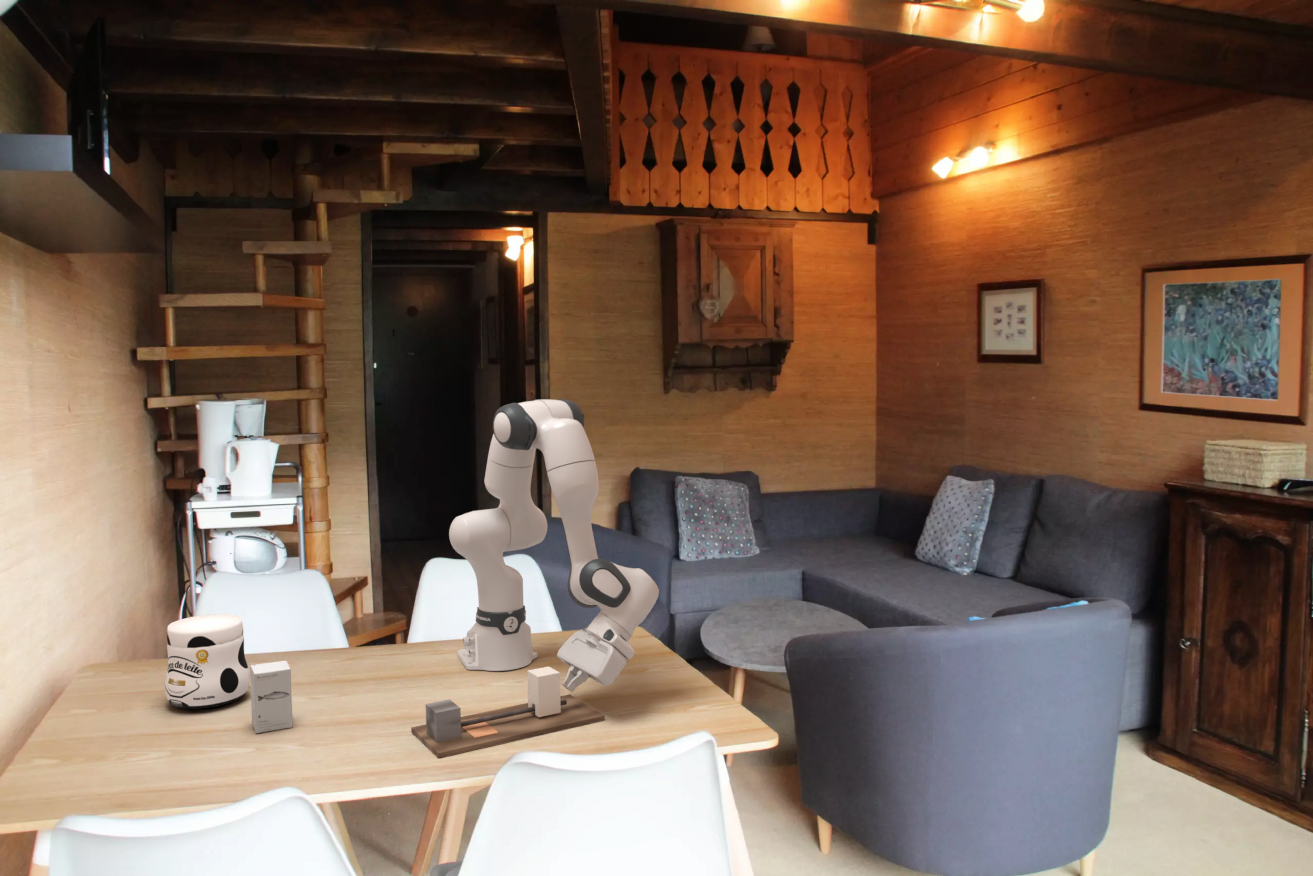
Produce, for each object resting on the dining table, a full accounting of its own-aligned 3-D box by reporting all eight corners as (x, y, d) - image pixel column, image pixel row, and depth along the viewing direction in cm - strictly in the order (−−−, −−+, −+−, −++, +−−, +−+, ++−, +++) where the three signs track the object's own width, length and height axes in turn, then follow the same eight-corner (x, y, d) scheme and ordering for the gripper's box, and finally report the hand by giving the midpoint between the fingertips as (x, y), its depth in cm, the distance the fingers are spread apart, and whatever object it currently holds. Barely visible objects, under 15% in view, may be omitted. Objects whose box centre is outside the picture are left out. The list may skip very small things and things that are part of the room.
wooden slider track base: (411, 732, 200) (410, 698, 200) (569, 698, 219) (569, 667, 219) (438, 758, 187) (437, 722, 186) (604, 720, 206) (604, 687, 205)
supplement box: (255, 734, 200) (252, 673, 199) (251, 723, 207) (249, 664, 206) (293, 728, 203) (291, 668, 202) (289, 717, 210) (286, 659, 209)
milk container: (155, 718, 210) (151, 635, 209) (177, 692, 227) (173, 615, 226) (242, 711, 214) (238, 630, 213) (257, 686, 231) (253, 610, 229)
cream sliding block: (528, 710, 208) (527, 670, 207) (549, 705, 210) (548, 666, 210) (538, 717, 203) (538, 677, 203) (560, 712, 206) (559, 672, 205)
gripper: (575, 617, 221) (536, 667, 217) (620, 638, 204) (579, 693, 200) (592, 634, 224) (555, 684, 220) (639, 655, 207) (599, 710, 202)
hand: (566, 688), depth 210 cm, fingers closed
